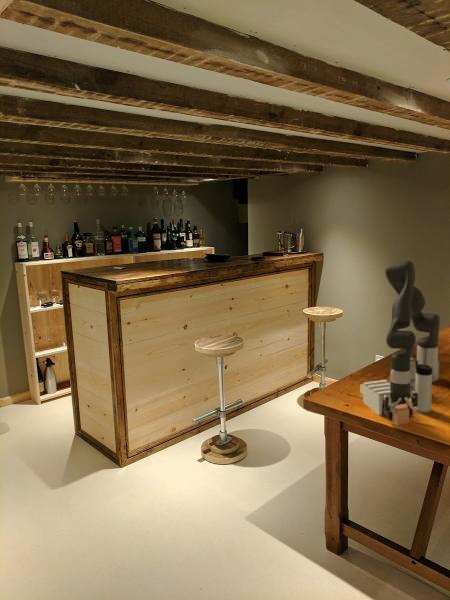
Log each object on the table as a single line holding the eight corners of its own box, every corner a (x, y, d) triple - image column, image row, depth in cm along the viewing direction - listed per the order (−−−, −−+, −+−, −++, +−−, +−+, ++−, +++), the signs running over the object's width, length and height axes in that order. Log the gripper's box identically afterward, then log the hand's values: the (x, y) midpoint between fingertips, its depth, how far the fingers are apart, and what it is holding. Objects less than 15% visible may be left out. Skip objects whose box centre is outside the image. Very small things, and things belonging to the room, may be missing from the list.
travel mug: (411, 408, 192) (412, 363, 188) (426, 406, 193) (427, 362, 189) (418, 414, 186) (419, 368, 182) (434, 412, 186) (435, 367, 183)
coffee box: (418, 394, 205) (418, 360, 202) (404, 395, 205) (404, 361, 202) (408, 387, 214) (409, 354, 211) (395, 388, 214) (395, 355, 211)
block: (402, 417, 184) (402, 404, 183) (409, 423, 179) (409, 409, 178) (390, 419, 183) (390, 405, 182) (397, 424, 178) (397, 410, 177)
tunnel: (384, 399, 202) (384, 379, 200) (402, 412, 189) (402, 391, 187) (363, 402, 201) (363, 382, 199) (379, 415, 187) (379, 394, 185)
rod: (367, 392, 212) (367, 383, 211) (395, 416, 187) (396, 405, 186) (360, 393, 211) (360, 384, 210) (387, 417, 186) (388, 406, 185)
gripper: (411, 374, 183) (410, 411, 186) (378, 378, 180) (378, 416, 183) (422, 380, 175) (421, 419, 178) (388, 385, 173) (388, 424, 176)
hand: (399, 418), depth 181 cm, fingers open, 8 cm apart
